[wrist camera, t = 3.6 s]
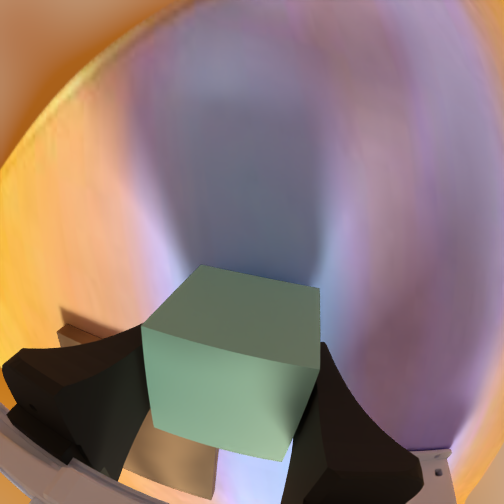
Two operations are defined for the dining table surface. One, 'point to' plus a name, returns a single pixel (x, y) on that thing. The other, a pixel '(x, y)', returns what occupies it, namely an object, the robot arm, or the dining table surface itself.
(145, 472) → the board
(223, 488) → the dining table surface
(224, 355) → the block
